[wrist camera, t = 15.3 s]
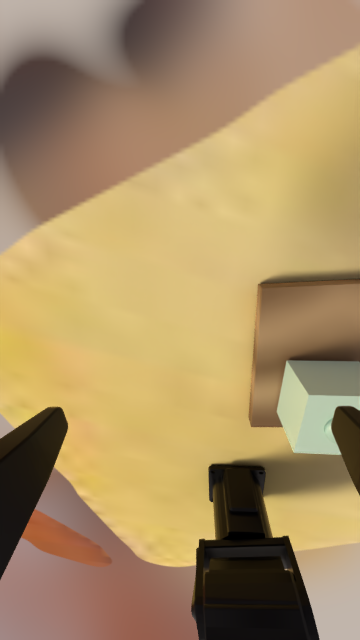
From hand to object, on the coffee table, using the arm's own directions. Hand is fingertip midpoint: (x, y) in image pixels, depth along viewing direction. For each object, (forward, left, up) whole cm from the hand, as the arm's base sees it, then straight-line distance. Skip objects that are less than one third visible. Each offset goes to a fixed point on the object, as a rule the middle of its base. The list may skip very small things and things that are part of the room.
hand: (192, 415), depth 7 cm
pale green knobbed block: (-8, -10, -10) cm, 17 cm away
